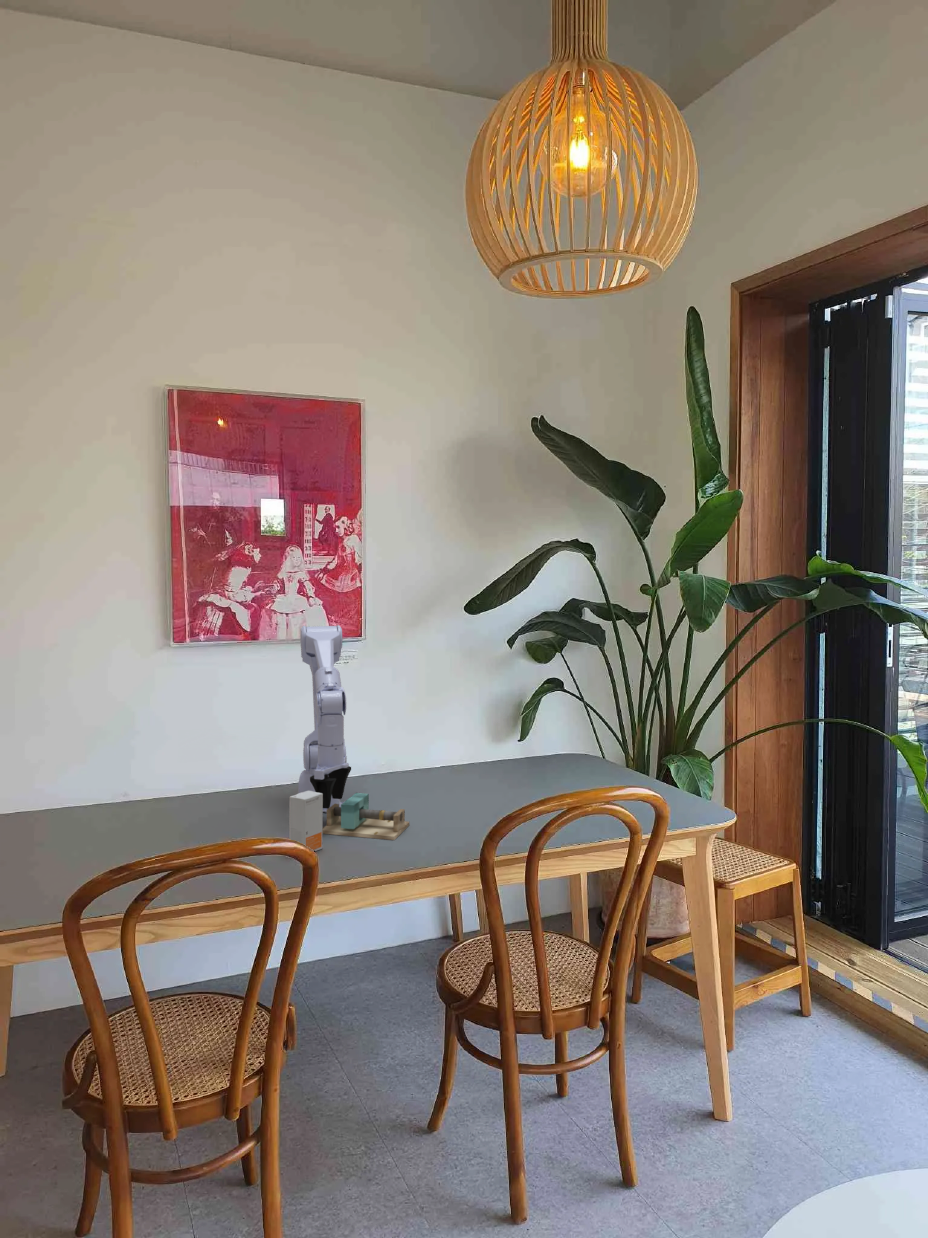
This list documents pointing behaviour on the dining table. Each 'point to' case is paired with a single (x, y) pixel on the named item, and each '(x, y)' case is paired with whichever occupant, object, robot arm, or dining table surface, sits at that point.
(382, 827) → the pipe jig
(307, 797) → the skincare box
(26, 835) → the dining table surface
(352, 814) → the collar
